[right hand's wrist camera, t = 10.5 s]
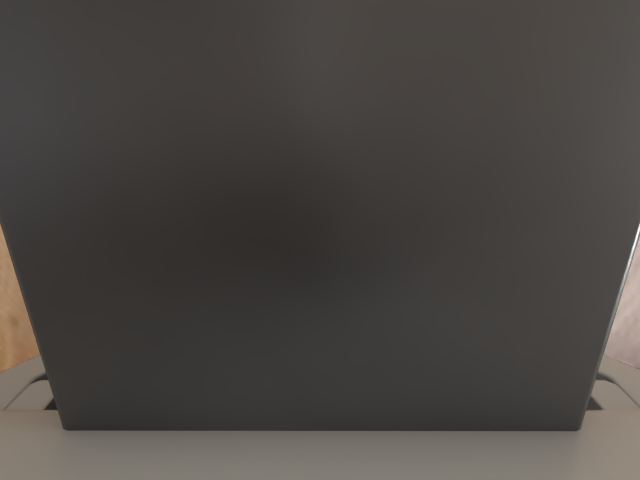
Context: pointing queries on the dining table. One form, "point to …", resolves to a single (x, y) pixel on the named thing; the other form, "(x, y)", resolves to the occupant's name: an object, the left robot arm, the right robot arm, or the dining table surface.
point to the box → (320, 208)
